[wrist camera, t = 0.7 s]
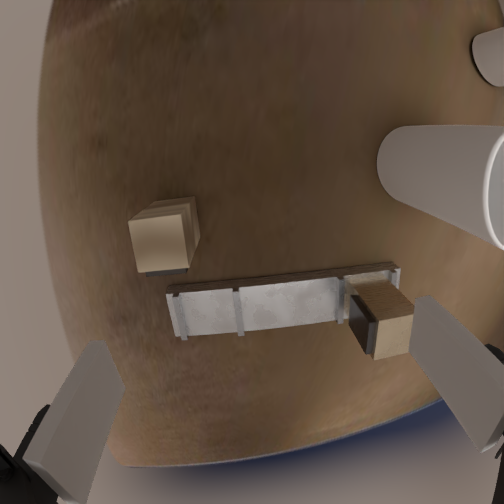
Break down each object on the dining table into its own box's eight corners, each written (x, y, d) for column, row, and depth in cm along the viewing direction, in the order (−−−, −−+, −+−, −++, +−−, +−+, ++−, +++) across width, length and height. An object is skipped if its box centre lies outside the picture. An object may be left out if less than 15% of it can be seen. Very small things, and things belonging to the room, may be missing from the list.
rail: (169, 285, 32) (146, 340, 23) (392, 261, 32) (440, 303, 23) (178, 326, 34) (161, 387, 24) (388, 301, 34) (430, 350, 25)
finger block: (154, 201, 29) (127, 221, 22) (195, 196, 29) (180, 214, 22) (162, 247, 31) (140, 279, 23) (201, 242, 31) (190, 275, 23)
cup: (403, 218, 31) (505, 277, 16) (361, 156, 29) (467, 175, 14) (451, 173, 29) (560, 204, 14) (414, 111, 27) (529, 105, 12)
